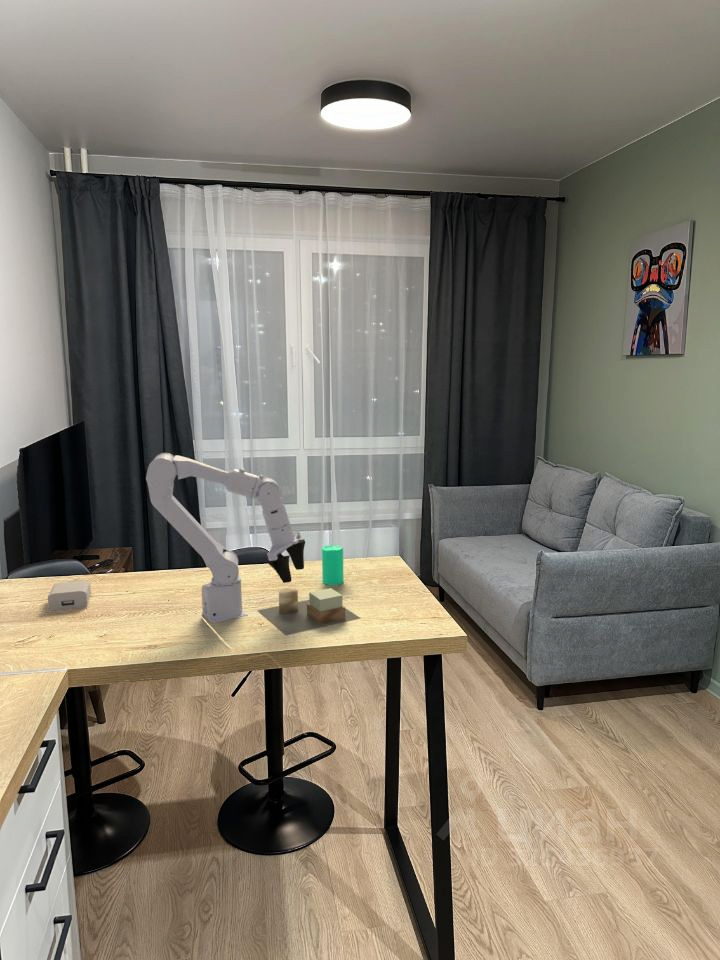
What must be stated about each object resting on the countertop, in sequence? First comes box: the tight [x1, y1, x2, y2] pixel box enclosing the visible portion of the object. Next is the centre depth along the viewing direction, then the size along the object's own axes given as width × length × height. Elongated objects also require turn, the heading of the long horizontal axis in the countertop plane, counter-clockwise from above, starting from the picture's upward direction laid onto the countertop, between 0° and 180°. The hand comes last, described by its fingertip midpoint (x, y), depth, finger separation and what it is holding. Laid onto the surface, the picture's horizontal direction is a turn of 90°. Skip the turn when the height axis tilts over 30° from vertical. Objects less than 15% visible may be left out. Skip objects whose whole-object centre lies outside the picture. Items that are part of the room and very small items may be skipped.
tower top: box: [308, 587, 344, 612], centre depth 163 cm, size 6×6×3 cm
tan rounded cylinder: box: [278, 587, 299, 614], centre depth 168 cm, size 5×5×5 cm
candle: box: [321, 542, 345, 586], centre depth 189 cm, size 6×6×12 cm
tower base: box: [307, 603, 346, 625], centre depth 163 cm, size 7×7×3 cm
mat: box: [256, 599, 361, 636], centre depth 165 cm, size 20×18×1 cm
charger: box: [47, 580, 92, 612], centre depth 178 cm, size 5×9×15 cm
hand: (293, 575), depth 168 cm, fingers open, 7 cm apart
